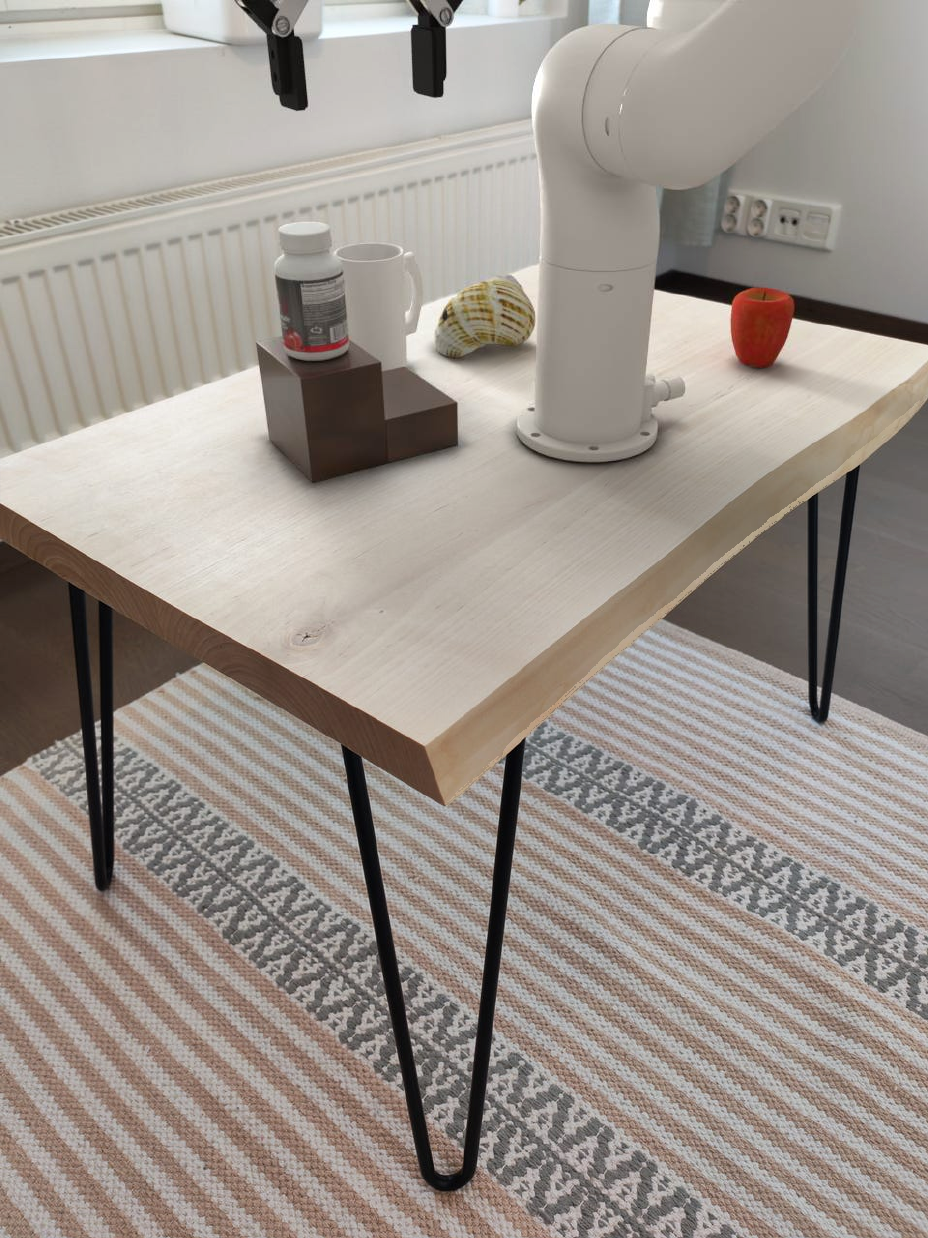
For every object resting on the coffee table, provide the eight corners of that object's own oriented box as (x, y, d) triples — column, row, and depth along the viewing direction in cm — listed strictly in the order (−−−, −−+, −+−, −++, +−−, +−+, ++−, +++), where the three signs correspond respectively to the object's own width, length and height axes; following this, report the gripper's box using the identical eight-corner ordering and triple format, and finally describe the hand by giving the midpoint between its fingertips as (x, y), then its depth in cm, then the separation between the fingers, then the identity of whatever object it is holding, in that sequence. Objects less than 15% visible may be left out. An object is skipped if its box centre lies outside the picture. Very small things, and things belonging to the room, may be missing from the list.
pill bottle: (275, 346, 82) (259, 224, 76) (335, 335, 84) (324, 215, 78) (297, 367, 78) (283, 239, 72) (360, 355, 80) (350, 230, 74)
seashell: (416, 351, 104) (431, 253, 102) (456, 365, 112) (470, 275, 111) (502, 361, 100) (519, 259, 98) (537, 375, 108) (553, 281, 107)
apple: (716, 352, 104) (726, 281, 100) (773, 351, 105) (786, 280, 100) (732, 374, 99) (743, 300, 95) (792, 373, 99) (806, 299, 95)
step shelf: (406, 406, 94) (402, 312, 89) (458, 444, 87) (457, 345, 82) (269, 438, 88) (255, 341, 83) (312, 482, 81) (300, 379, 76)
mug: (372, 389, 97) (363, 265, 90) (330, 371, 101) (319, 251, 94) (445, 362, 103) (442, 244, 96) (403, 347, 107) (398, 232, 100)
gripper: (210, -267, 48) (257, 121, 58) (509, -247, 55) (505, 97, 65) (167, -247, 53) (216, 105, 63) (444, -231, 60) (450, 84, 70)
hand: (363, 101), depth 64 cm, fingers open, 9 cm apart
